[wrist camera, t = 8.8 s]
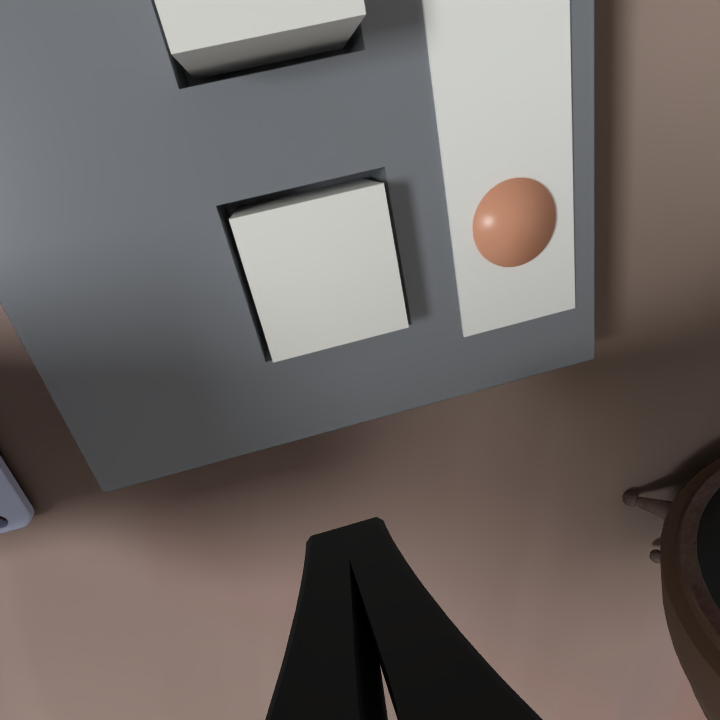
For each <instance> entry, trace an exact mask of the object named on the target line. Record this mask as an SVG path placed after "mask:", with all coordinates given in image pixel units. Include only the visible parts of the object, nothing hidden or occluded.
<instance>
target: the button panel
mask: <svg viewBox="0 0 720 720" xmlns="http://www.w3.org/2000/svg"><path fill="white" fill-rule="evenodd" d="M364 4H365V11H366V15H365V17H364V18H363V20H362V21H361V22H360V24H359V25H358V27H357V28H356V30H355V31H354V33H353V34H352V36H351V37H350V39H349V40H348V41H347V43H346V44H345V46H344V47H343V48H342V49H337V50H332V51H327V52H323V53H318V54H313V55H308V56H304V57H299V58H294V59H289V60H285V61H280V62H275V63H270V64H266V65H261V66H256V67H251V68H247V69H242V70H237V71H232V72H228V73H223V74H218V75H213V76H209V77H204V78H199V79H194V78H193V77H192V76H191V75H190V74H189V73H188V72H187V71H186V70H185V68H184V67H183V66H182V65H181V64H180V63H179V62H178V61H177V60H176V59H175V58H174V57H173V56H172V55H171V52H170V49H169V46H168V42H167V39H166V36H165V33H164V30H163V27H162V23H161V20H160V17H159V14H158V11H157V7H156V4H155V1H154V0H0V303H1V305H2V307H3V309H4V310H5V312H6V314H7V316H8V318H9V320H10V321H11V323H12V325H13V327H14V329H15V331H16V333H17V334H18V336H19V338H20V340H21V342H22V344H23V345H24V347H25V349H26V351H27V353H28V355H29V356H30V358H31V360H32V362H33V364H34V366H35V368H36V369H37V371H38V373H39V375H40V377H41V379H42V380H43V382H44V384H45V386H46V388H47V390H48V392H49V393H50V395H51V397H52V399H53V401H54V403H55V404H56V406H57V408H58V410H59V412H60V414H61V416H62V417H63V419H64V421H65V423H66V425H67V427H68V428H69V430H70V432H71V434H72V436H73V438H74V440H75V441H76V443H77V445H78V447H79V449H80V451H81V452H82V454H83V456H84V458H85V460H86V462H87V464H88V465H89V467H90V469H91V471H92V473H93V475H94V476H95V478H96V480H97V482H98V484H99V486H100V488H101V489H102V491H103V493H106V492H110V491H113V490H117V489H121V488H124V487H128V486H132V485H135V484H139V483H143V482H146V481H150V480H153V479H157V478H161V477H164V476H168V475H172V474H175V473H179V472H183V471H186V470H190V469H194V468H197V467H201V466H205V465H208V464H212V463H216V462H219V461H223V460H227V459H230V458H234V457H238V456H241V455H245V454H248V453H252V452H256V451H259V450H263V449H267V448H270V447H274V446H278V445H281V444H285V443H289V442H292V441H296V440H300V439H303V438H307V437H311V436H314V435H318V434H322V433H325V432H329V431H333V430H336V429H340V428H344V427H347V426H351V425H354V424H358V423H362V422H365V421H369V420H373V419H376V418H380V417H384V416H387V415H391V414H395V413H398V412H402V411H406V410H409V409H413V408H417V407H420V406H424V405H428V404H431V403H435V402H439V401H442V400H446V399H449V398H453V397H457V396H460V395H464V394H468V393H471V392H475V391H479V390H482V389H486V388H490V387H493V386H497V385H501V384H504V383H508V382H512V381H515V380H519V379H523V378H526V377H530V376H534V375H537V374H541V373H544V372H548V371H552V370H555V369H559V368H563V367H566V366H570V365H574V364H577V363H581V362H585V361H588V360H592V359H594V0H364ZM359 178H363V179H367V180H372V181H376V182H381V183H384V187H385V193H386V199H387V204H388V210H389V216H390V222H391V228H392V233H393V239H394V245H395V251H396V256H397V262H398V268H399V274H400V279H401V285H402V291H403V297H404V302H405V308H406V314H407V320H408V325H409V328H405V329H401V330H397V331H393V332H389V333H385V334H382V335H378V336H374V337H370V338H366V339H362V340H359V341H355V342H351V343H347V344H343V345H339V346H335V347H332V348H328V349H324V350H320V351H316V352H312V353H309V354H305V355H301V356H297V357H293V358H289V359H285V360H282V361H278V362H274V363H273V360H272V357H271V354H270V351H269V348H268V344H267V341H266V338H265V335H264V331H263V328H262V325H261V322H260V319H259V315H258V312H257V309H256V306H255V302H254V299H253V296H252V293H251V290H250V286H249V283H248V280H247V277H246V273H245V270H244V267H243V264H242V261H241V257H240V254H239V251H238V248H237V244H236V241H235V238H234V235H233V232H232V228H231V225H230V222H229V218H230V217H231V215H232V214H233V212H234V211H235V209H236V207H239V206H243V205H247V204H252V203H256V202H260V201H264V200H269V199H273V198H277V197H282V196H286V195H290V194H294V193H299V192H303V191H307V190H312V189H316V188H320V187H325V186H329V185H333V184H337V183H342V182H346V181H350V180H355V179H359Z"/></svg>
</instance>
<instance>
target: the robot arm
mask: <svg viewBox="0 0 720 720" xmlns="http://www.w3.org/2000/svg"><path fill="white" fill-rule="evenodd" d="M0 516H2V517H5V518H6V519H7V520H2V519H0V534H1V533H5V532H8V531H12V530H16V529H19V528H22V527H25V526H27V525H28V524H29V522H30V521H31V520H32V518H33V516H34V509H33V507H32V505H31V504H30V502H29V500H28V499H27V497H26V496H25V494H24V493H23V491H22V489H21V488H20V486H19V485H18V483H17V481H16V480H15V478H14V477H13V475H12V473H11V472H10V470H9V469H8V467H7V466H6V464H5V462H4V461H3V459H2V458H1V456H0ZM380 665H381V668H382V672H383V675H384V678H385V681H386V684H387V687H388V691H389V694H390V697H391V700H392V703H393V706H394V709H395V713H396V716H397V719H398V720H542V719H541V718H540V717H539V716H538V715H537V714H536V713H535V712H534V711H533V710H532V709H531V708H530V707H529V706H528V705H527V704H526V702H525V701H524V700H523V699H522V698H521V697H520V696H519V695H518V694H517V693H516V692H515V691H514V690H513V689H512V688H511V687H510V686H509V685H508V684H507V683H506V682H505V681H504V680H503V679H502V678H501V677H500V676H499V675H498V673H497V672H496V671H495V670H494V669H493V668H492V667H491V666H490V665H489V664H488V663H487V662H486V660H485V659H484V658H483V657H482V656H481V655H480V654H479V653H478V651H477V650H476V649H475V648H474V647H473V646H472V645H471V643H470V642H469V641H468V640H467V639H466V638H465V637H464V635H463V634H462V633H461V632H460V631H459V630H458V628H457V627H456V626H455V625H454V624H453V622H452V621H451V620H450V619H449V618H448V616H447V615H446V614H445V613H444V611H443V610H442V609H441V607H440V606H439V605H438V604H437V602H436V601H435V600H434V599H433V597H432V596H431V595H430V593H429V592H428V591H427V590H426V588H425V587H424V586H423V584H422V583H421V582H420V580H419V579H418V577H417V576H416V575H415V573H414V572H413V570H412V569H411V567H410V566H409V565H408V563H407V562H406V560H405V559H404V557H403V556H402V554H401V552H400V551H399V549H398V548H397V546H396V544H395V543H394V541H393V539H392V537H391V535H390V534H389V532H388V530H387V528H386V526H385V523H384V521H383V520H381V519H379V518H377V517H375V518H371V519H368V520H364V521H361V522H357V523H354V524H351V525H347V526H344V527H340V528H337V529H333V530H330V531H326V532H323V533H320V534H316V535H313V536H311V537H310V538H309V540H308V541H307V542H306V554H305V562H304V569H303V575H302V581H301V586H300V591H299V596H298V601H297V606H296V611H295V615H294V619H293V623H292V627H291V631H290V635H289V639H288V643H287V647H286V651H285V655H284V659H283V663H282V666H281V670H280V673H279V676H278V680H277V683H276V686H275V690H274V693H273V696H272V699H271V703H270V706H269V709H268V713H267V716H266V719H265V720H388V717H387V710H386V703H385V696H384V689H383V682H382V675H381V668H380Z"/></svg>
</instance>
